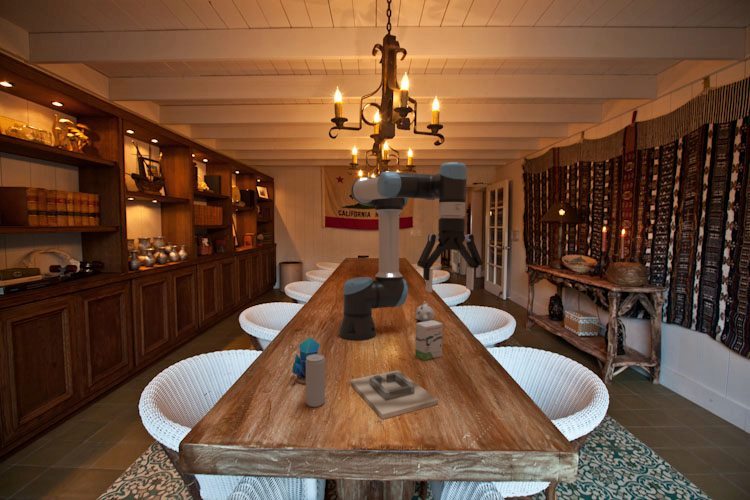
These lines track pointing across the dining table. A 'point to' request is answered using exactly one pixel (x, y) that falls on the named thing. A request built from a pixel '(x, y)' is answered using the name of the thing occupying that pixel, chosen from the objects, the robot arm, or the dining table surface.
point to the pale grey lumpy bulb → (424, 312)
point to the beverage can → (315, 380)
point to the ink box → (428, 340)
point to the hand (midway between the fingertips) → (449, 290)
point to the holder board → (392, 393)
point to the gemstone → (304, 359)
